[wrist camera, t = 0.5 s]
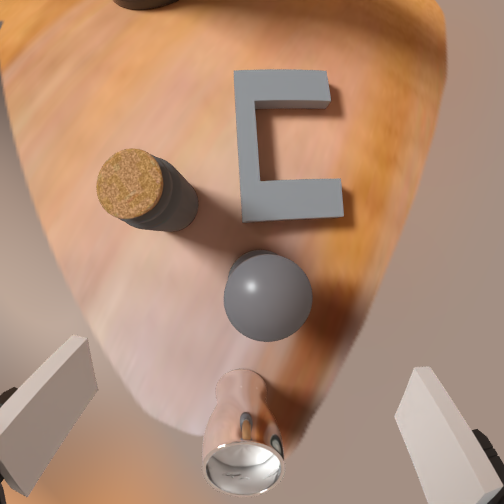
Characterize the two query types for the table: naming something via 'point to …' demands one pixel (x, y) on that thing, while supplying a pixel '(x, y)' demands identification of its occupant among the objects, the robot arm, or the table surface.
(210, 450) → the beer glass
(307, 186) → the notch board
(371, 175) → the table surface
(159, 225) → the bottle
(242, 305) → the bobbin
